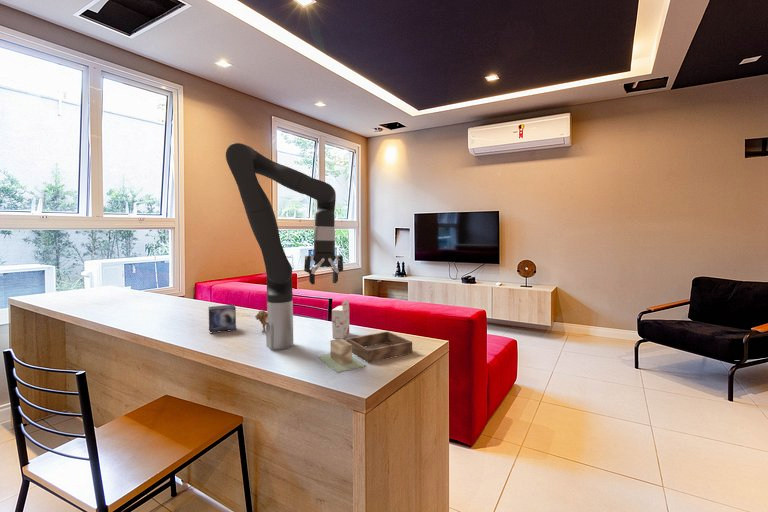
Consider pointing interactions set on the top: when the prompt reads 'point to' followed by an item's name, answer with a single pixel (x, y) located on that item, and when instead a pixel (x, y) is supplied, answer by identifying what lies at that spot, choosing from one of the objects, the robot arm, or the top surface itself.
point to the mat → (338, 367)
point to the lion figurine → (262, 318)
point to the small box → (222, 318)
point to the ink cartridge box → (340, 321)
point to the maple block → (341, 351)
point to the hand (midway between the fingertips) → (323, 283)
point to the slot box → (396, 349)
